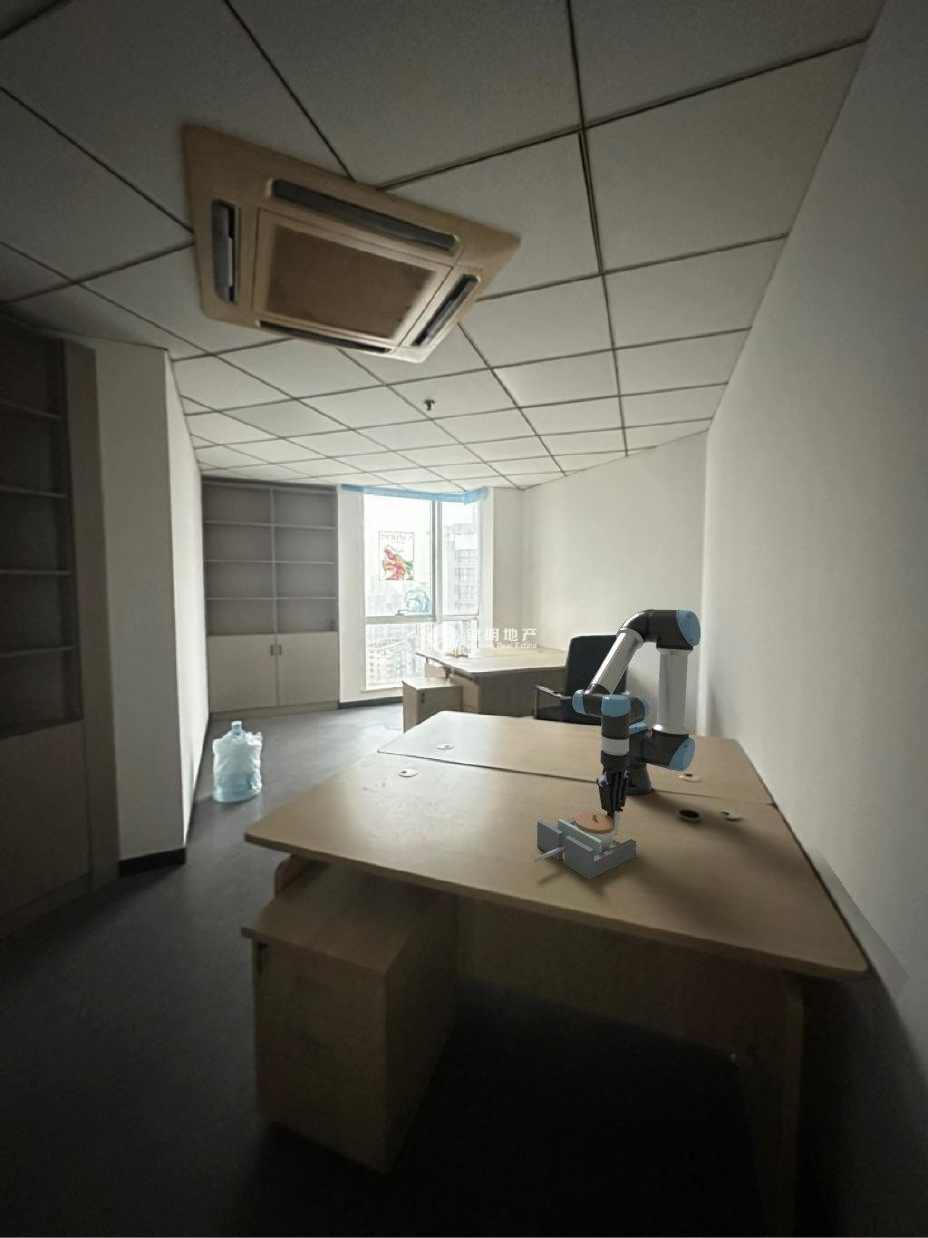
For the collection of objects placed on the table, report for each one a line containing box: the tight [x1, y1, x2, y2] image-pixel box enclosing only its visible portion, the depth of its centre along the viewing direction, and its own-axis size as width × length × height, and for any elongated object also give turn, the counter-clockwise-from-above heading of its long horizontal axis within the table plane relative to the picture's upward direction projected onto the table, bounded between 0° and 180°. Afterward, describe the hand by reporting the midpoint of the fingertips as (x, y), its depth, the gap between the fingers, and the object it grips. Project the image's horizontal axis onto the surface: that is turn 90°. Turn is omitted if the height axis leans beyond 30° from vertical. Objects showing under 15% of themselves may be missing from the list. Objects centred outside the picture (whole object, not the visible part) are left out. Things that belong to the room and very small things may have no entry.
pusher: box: [532, 818, 602, 863], centre depth 116 cm, size 17×14×6 cm
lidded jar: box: [573, 810, 615, 852], centre depth 124 cm, size 11×11×9 cm
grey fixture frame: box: [536, 817, 637, 881], centre depth 122 cm, size 18×18×7 cm
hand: (612, 833), depth 129 cm, fingers closed
